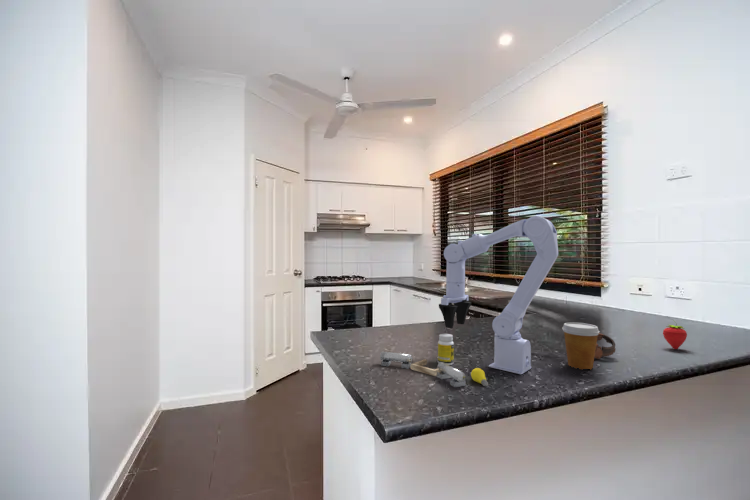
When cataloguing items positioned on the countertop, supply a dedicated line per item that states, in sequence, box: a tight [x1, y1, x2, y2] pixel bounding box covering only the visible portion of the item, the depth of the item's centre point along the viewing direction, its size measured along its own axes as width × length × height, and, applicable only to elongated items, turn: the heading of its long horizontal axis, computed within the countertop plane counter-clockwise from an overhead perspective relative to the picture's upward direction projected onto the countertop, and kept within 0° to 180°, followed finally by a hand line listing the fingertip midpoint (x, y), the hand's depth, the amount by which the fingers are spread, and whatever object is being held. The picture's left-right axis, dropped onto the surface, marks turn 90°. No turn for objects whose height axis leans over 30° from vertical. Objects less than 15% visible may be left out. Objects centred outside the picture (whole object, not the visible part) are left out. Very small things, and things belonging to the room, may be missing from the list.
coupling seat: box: [410, 358, 441, 377], centre depth 100 cm, size 8×7×1 cm
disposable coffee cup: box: [561, 322, 601, 370], centre depth 104 cm, size 10×10×12 cm
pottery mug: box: [594, 332, 616, 360], centre depth 116 cm, size 12×10×8 cm
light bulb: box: [470, 367, 489, 387], centre depth 90 cm, size 3×6×4 cm, turn 14°
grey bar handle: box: [379, 351, 413, 370], centre depth 104 cm, size 9×3×4 cm, turn 72°
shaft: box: [436, 362, 467, 388], centre depth 91 cm, size 9×3×4 cm, turn 22°
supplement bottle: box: [437, 333, 455, 366], centre depth 107 cm, size 5×5×8 cm
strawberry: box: [662, 320, 688, 350], centre depth 125 cm, size 6×8×10 cm
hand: (455, 325), depth 112 cm, fingers open, 7 cm apart
